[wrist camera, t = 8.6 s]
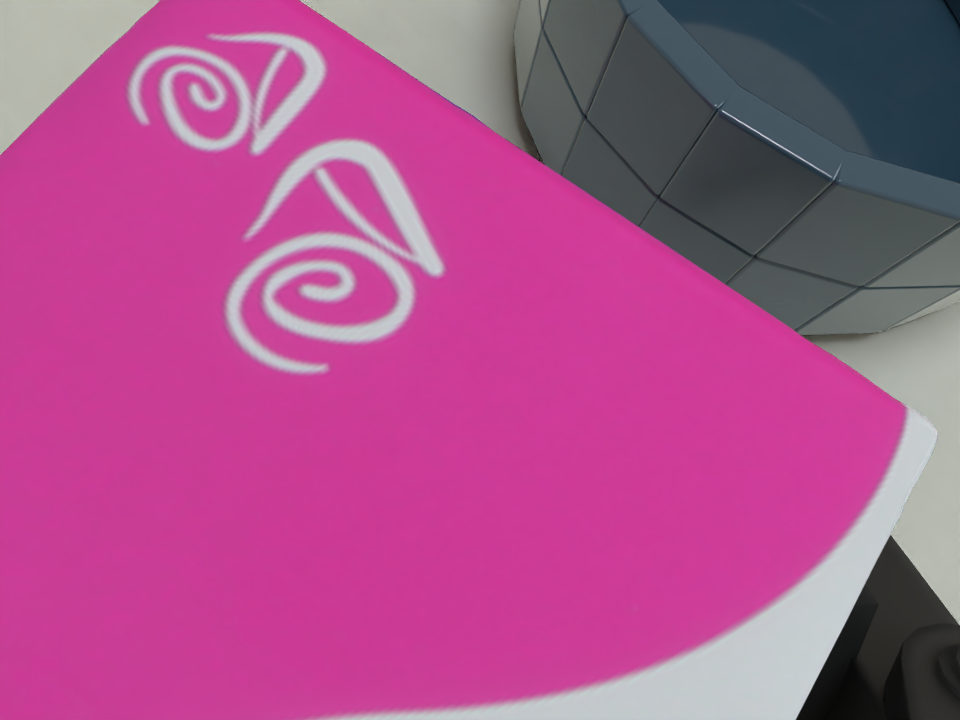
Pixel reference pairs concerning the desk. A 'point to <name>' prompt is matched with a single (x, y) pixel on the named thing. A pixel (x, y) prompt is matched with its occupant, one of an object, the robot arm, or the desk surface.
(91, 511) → the supplement box
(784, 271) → the bowl
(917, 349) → the desk surface
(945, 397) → the desk surface
